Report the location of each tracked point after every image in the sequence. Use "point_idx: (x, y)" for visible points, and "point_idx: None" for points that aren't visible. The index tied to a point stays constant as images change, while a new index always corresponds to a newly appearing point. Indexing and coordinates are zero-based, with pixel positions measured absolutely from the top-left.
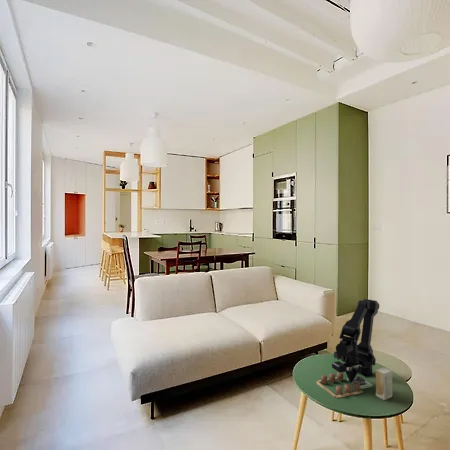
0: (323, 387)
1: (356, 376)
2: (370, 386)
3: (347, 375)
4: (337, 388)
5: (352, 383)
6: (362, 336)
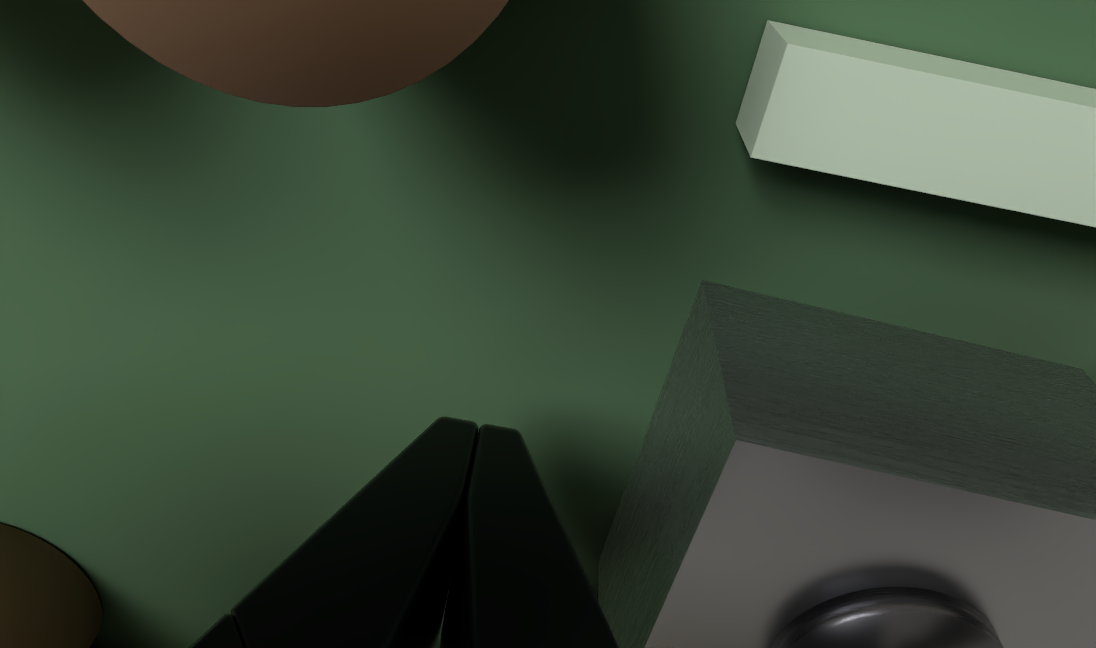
0: None
1: (1062, 534)
2: None
3: (235, 639)
4: None
5: (680, 343)
6: None
